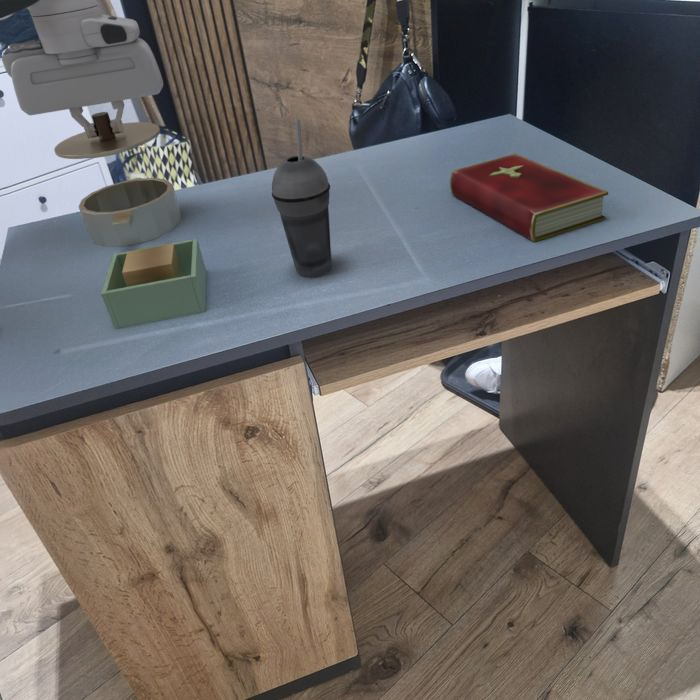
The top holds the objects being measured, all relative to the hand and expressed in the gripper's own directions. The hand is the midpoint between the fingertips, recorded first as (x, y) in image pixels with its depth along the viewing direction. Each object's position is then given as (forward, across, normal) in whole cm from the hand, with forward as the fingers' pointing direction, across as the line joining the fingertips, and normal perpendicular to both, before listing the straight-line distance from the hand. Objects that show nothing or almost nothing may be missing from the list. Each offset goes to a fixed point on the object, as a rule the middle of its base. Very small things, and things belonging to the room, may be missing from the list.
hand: (106, 134), depth 96 cm
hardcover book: (+16, +58, -19) cm, 63 cm away
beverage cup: (+16, +26, -27) cm, 41 cm away
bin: (+15, +6, -27) cm, 32 cm away
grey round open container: (+15, 0, 0) cm, 16 cm away
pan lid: (+1, 0, 0) cm, 1 cm away
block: (+15, +6, -27) cm, 31 cm away
